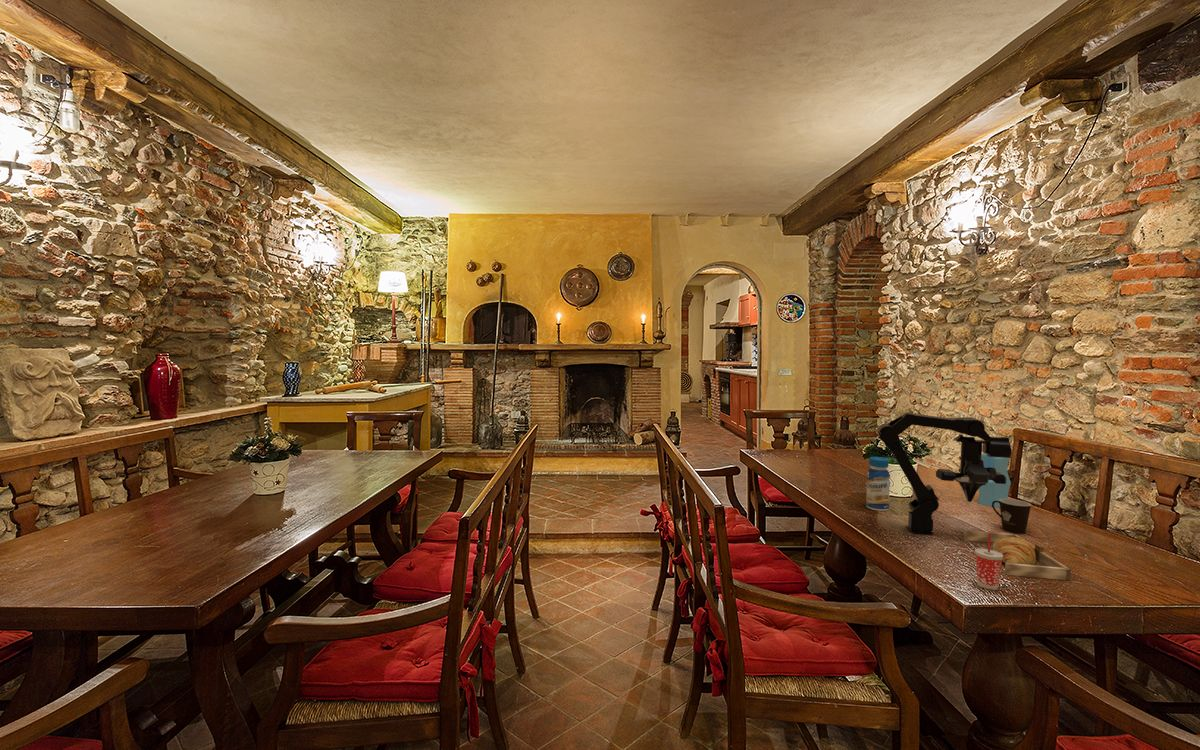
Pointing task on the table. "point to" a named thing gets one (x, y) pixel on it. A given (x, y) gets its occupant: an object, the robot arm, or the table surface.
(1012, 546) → the croissant
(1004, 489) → the vase
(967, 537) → the frame
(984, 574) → the beverage cup
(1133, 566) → the table surface
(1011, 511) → the coffee mug
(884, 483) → the beverage bottle
